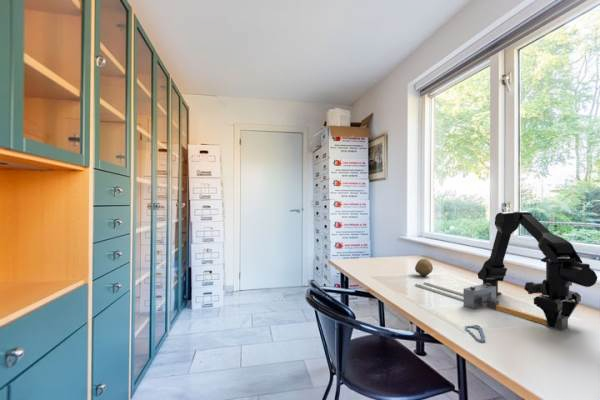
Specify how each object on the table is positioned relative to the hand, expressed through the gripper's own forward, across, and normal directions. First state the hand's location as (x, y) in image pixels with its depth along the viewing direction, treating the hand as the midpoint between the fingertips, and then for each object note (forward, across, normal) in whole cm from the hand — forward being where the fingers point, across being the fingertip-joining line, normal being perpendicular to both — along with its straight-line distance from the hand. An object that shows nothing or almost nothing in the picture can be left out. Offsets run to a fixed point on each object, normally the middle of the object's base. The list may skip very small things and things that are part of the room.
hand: (557, 324), depth 93 cm
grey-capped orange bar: (+1, 0, -10) cm, 10 cm away
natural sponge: (+1, -16, -64) cm, 66 cm away
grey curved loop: (+2, +29, -10) cm, 31 cm away
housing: (+1, +1, -39) cm, 39 cm away
